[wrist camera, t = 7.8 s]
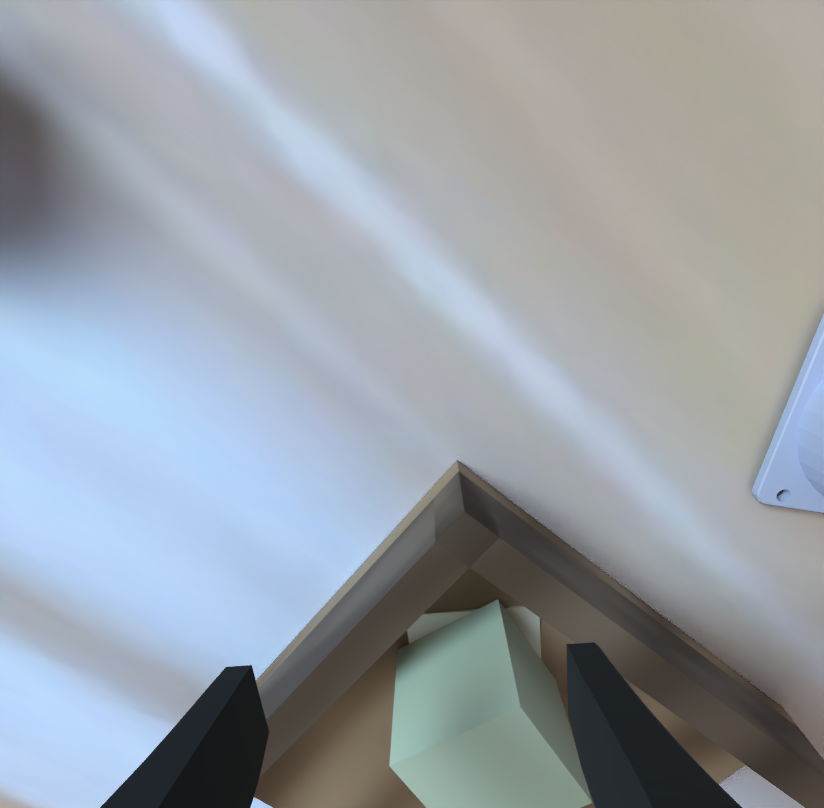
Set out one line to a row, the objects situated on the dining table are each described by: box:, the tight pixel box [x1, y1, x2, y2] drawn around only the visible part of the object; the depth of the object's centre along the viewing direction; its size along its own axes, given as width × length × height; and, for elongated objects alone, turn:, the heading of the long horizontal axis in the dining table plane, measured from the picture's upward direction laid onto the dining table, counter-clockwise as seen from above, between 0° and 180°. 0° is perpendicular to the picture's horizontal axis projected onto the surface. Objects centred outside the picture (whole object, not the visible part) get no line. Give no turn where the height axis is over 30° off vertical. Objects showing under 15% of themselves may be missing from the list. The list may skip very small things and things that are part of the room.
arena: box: [254, 461, 824, 808], centre depth 22 cm, size 20×20×4 cm
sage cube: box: [389, 599, 592, 808], centre depth 19 cm, size 5×5×5 cm
